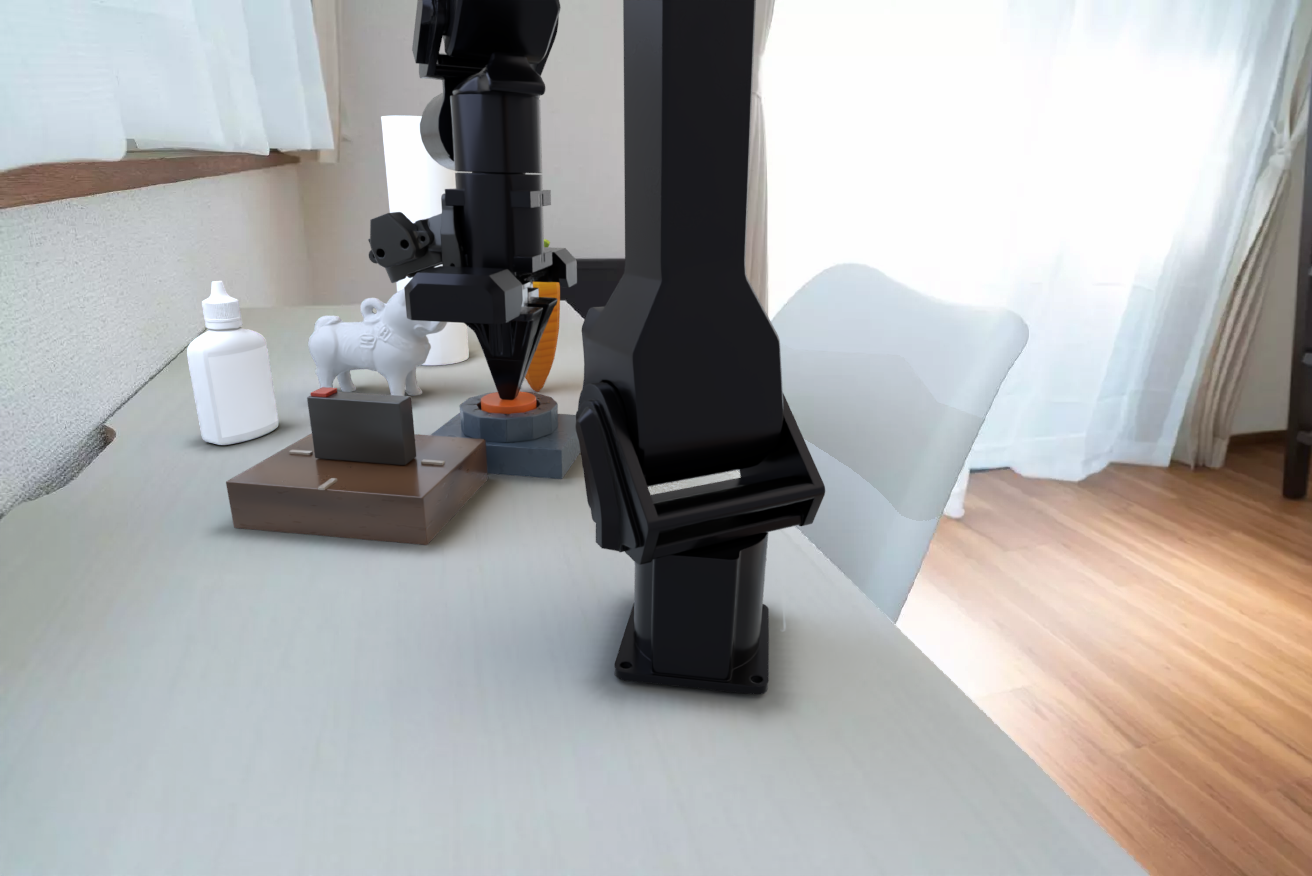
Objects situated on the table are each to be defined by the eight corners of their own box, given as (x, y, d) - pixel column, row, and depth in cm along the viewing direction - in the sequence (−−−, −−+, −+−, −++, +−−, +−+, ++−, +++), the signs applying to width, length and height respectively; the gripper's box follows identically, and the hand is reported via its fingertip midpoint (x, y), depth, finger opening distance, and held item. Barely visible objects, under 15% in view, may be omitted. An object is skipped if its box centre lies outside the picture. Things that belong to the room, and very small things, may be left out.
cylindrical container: (399, 353, 87) (377, 118, 79) (461, 348, 90) (447, 121, 82) (408, 367, 81) (385, 114, 73) (474, 362, 84) (460, 118, 76)
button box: (562, 479, 53) (560, 425, 51) (425, 469, 54) (421, 415, 53) (587, 441, 60) (587, 393, 59) (467, 433, 62) (464, 385, 60)
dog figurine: (446, 410, 67) (438, 289, 64) (306, 404, 68) (290, 284, 64) (464, 393, 72) (457, 281, 69) (333, 388, 73) (320, 276, 69)
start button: (527, 431, 54) (526, 407, 54) (474, 427, 55) (472, 404, 54) (543, 414, 58) (542, 392, 57) (492, 411, 58) (491, 389, 58)
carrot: (568, 396, 72) (566, 234, 67) (517, 401, 70) (510, 234, 65) (555, 383, 76) (552, 229, 71) (506, 387, 75) (499, 230, 70)
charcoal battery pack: (417, 456, 48) (411, 392, 46) (405, 465, 46) (399, 399, 45) (328, 449, 49) (320, 386, 47) (314, 458, 47) (305, 393, 46)
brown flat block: (426, 546, 43) (421, 495, 42) (232, 529, 45) (223, 479, 43) (488, 479, 53) (486, 436, 52) (327, 466, 54) (321, 424, 53)
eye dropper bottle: (287, 436, 60) (264, 282, 56) (206, 449, 57) (176, 288, 53) (275, 421, 63) (253, 276, 59) (198, 433, 60) (169, 280, 56)
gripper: (440, 171, 60) (453, 363, 65) (306, 170, 43) (338, 431, 48) (577, 175, 59) (579, 370, 64) (496, 175, 41) (508, 443, 47)
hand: (508, 398), depth 56 cm, fingers closed, pressing on start button
